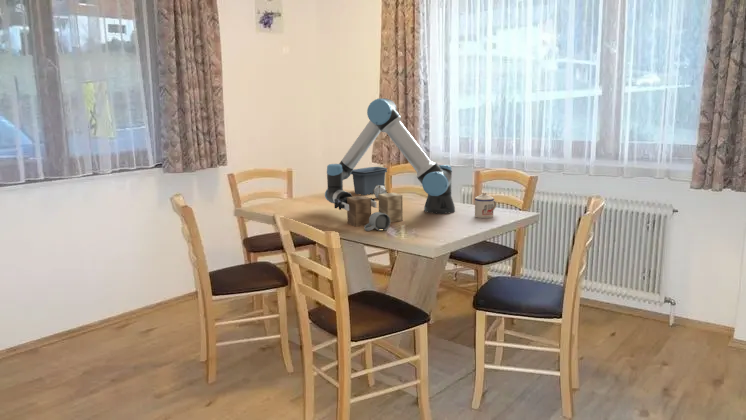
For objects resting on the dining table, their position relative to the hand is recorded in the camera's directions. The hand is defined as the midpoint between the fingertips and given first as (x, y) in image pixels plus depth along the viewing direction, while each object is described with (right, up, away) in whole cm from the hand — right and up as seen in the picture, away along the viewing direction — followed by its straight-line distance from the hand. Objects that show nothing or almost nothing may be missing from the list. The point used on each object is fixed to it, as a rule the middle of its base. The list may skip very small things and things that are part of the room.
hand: (362, 206), depth 272 cm
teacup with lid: (+59, -5, +17) cm, 61 cm away
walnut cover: (-1, -8, +5) cm, 9 cm away
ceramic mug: (+6, -11, -7) cm, 14 cm away
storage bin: (+2, +8, +87) cm, 88 cm away
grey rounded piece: (+9, +4, +68) cm, 68 cm away
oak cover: (+13, -6, +12) cm, 19 cm away
